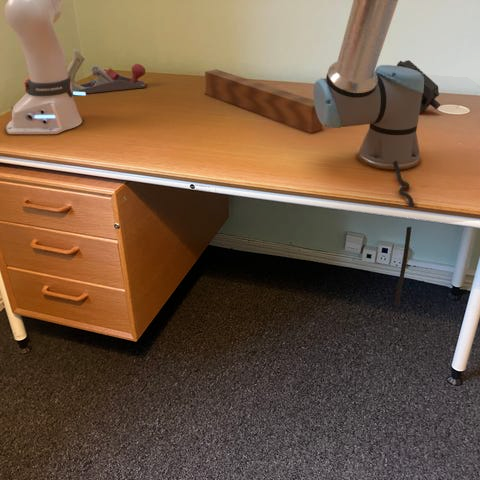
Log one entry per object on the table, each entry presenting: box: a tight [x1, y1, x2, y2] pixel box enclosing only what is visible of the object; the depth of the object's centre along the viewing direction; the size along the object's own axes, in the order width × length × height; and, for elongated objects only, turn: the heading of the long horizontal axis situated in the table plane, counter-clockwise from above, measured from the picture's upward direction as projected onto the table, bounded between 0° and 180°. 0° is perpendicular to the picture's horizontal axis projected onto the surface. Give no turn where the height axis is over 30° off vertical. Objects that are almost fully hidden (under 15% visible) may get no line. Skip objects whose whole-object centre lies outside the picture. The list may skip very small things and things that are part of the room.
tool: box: [396, 59, 442, 114], centre depth 170 cm, size 6×19×15 cm, turn 51°
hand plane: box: [67, 48, 146, 94], centre depth 194 cm, size 7×31×15 cm, turn 107°
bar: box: [204, 68, 324, 134], centre depth 172 cm, size 53×5×8 cm, turn 39°
